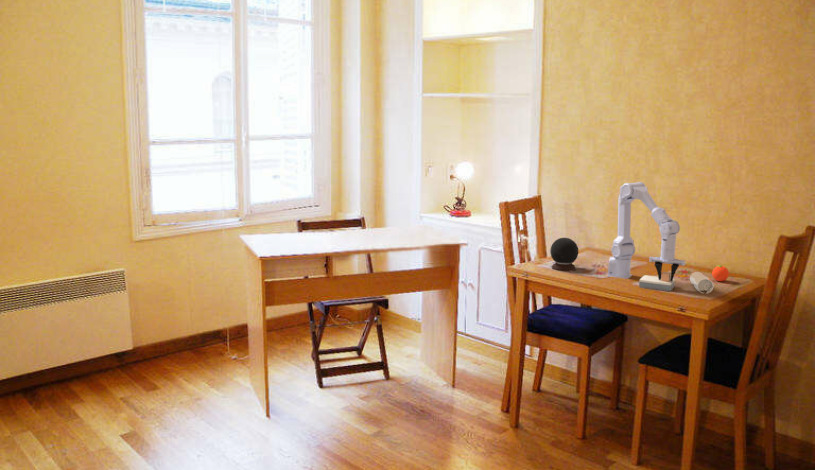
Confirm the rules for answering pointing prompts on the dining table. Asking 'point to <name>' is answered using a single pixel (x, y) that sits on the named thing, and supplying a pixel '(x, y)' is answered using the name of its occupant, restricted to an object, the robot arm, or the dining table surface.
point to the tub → (656, 286)
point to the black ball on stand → (564, 254)
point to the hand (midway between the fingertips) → (665, 279)
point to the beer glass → (701, 282)
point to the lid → (653, 279)
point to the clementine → (720, 273)
